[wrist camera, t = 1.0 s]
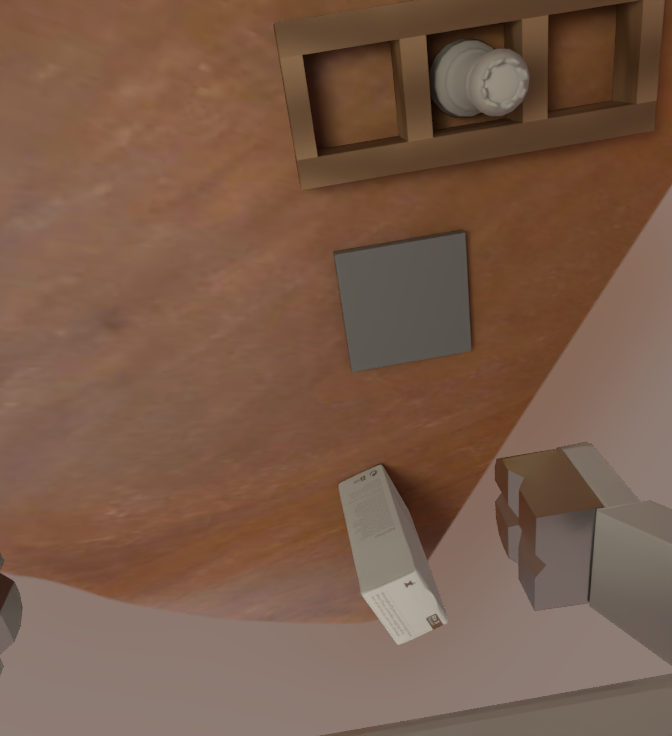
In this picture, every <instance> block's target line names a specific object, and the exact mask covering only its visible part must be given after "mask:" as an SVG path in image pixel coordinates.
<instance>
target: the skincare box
mask: <svg viewBox="0 0 672 736" xmlns="http://www.w3.org/2000/svg"><path fill="white" fill-rule="evenodd" d="M338 488H339V493H340V498H341V502H342V507H343V511H344V516H345V520H346V525H347V530H348V535H349V539H350V544H351V548H352V553H353V558H354V562H355V566H356V571H357V575H358V579H359V584H360V590H361V595H362V596H363V598H364V599H365V601H366V602H367V603H368V605H369V606H370V607H371V609H372V610H373V612H374V613H375V614H376V616H377V617H378V618H379V620H380V621H381V623H382V624H383V625H384V627H385V628H386V629H387V631H388V632H389V634H390V635H391V636H392V638H393V639H394V641H395V642H396V643H397V645H400V644H402V643H405V642H407V641H410V640H412V639H414V638H416V637H418V636H420V635H423V634H425V633H427V632H429V631H431V630H433V629H435V628H437V627H440V626H442V625H444V624H446V623H448V617H447V614H446V611H445V608H444V605H443V602H442V600H441V597H440V594H439V591H438V589H437V586H436V583H435V580H434V578H433V575H432V572H431V570H430V567H429V564H428V561H427V559H426V556H425V553H424V551H423V548H422V545H421V542H420V540H419V537H418V534H417V531H416V529H415V526H414V523H413V520H412V518H411V515H410V512H409V510H408V508H407V507H406V505H405V503H404V501H403V500H402V498H401V496H400V494H399V493H398V491H397V489H396V488H395V486H394V484H393V482H392V481H391V479H390V477H389V475H388V474H387V472H386V470H385V468H384V467H383V465H381V464H380V465H378V466H375V467H373V468H370V469H368V470H366V471H364V472H362V473H359V474H357V475H355V476H353V477H351V478H349V479H347V480H345V481H343V482H341V483H339V486H338Z"/></svg>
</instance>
